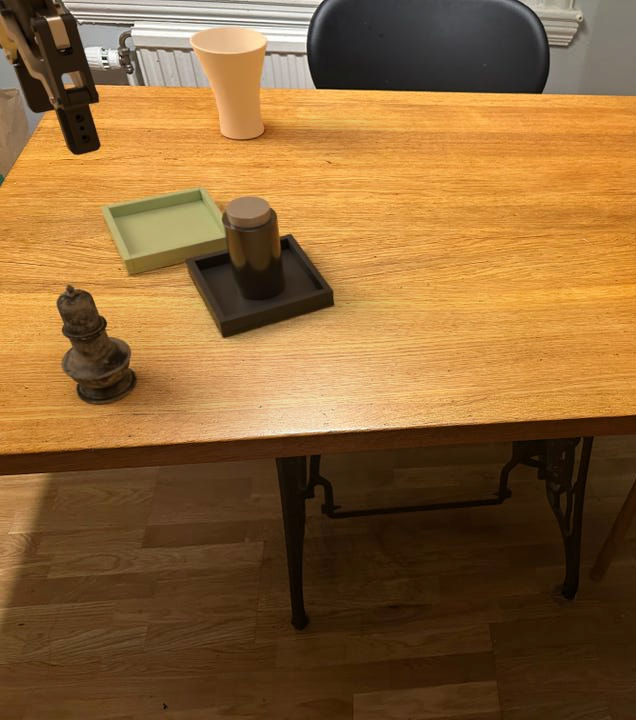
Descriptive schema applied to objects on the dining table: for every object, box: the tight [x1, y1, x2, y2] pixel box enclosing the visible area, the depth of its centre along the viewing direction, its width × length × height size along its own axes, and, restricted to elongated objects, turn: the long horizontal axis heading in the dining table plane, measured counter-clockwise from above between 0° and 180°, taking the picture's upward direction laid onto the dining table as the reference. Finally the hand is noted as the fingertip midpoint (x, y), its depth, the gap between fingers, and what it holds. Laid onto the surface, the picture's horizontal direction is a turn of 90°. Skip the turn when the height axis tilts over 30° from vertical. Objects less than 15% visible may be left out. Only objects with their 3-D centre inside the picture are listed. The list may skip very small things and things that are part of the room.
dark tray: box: [185, 233, 335, 338], centre depth 79 cm, size 13×13×2 cm
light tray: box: [100, 185, 227, 276], centre depth 85 cm, size 13×13×2 cm
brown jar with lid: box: [222, 195, 285, 300], centre depth 76 cm, size 6×6×10 cm
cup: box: [189, 26, 269, 140], centre depth 103 cm, size 10×10×14 cm
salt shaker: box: [55, 284, 138, 405], centre depth 63 cm, size 6×6×12 cm
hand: (64, 129), depth 56 cm, fingers open, 8 cm apart
